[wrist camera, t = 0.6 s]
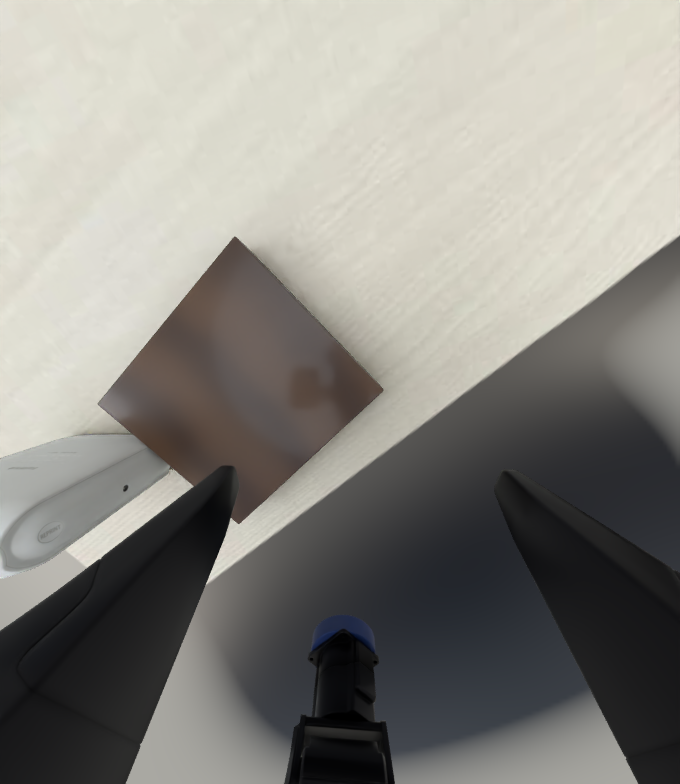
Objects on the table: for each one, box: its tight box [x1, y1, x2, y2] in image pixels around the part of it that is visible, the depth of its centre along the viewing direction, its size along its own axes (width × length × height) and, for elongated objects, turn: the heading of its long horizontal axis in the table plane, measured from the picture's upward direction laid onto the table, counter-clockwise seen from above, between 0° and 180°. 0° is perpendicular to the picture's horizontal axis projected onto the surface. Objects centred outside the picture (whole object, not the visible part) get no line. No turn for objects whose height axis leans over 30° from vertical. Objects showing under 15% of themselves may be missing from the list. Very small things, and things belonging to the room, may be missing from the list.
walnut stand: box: [98, 237, 383, 524], centre depth 20 cm, size 17×15×2 cm
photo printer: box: [0, 434, 171, 579], centre depth 17 cm, size 10×4×12 cm, turn 90°
